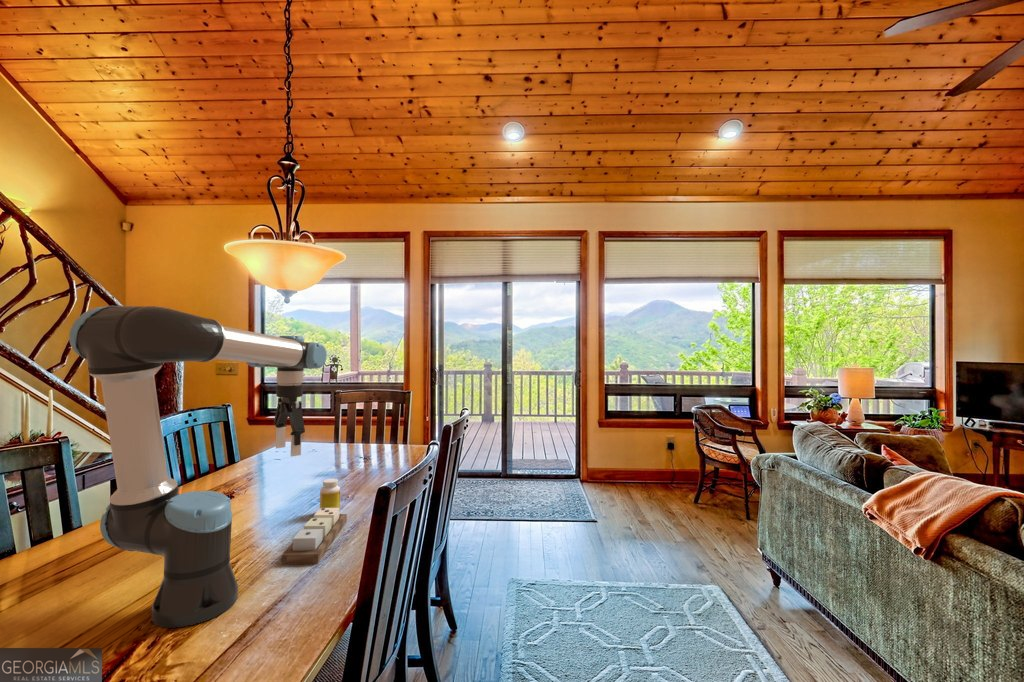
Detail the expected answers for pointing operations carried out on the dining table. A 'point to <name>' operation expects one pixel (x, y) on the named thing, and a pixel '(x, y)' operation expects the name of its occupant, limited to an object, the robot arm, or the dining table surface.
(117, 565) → the dining table surface
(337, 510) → the tile three
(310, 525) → the tile two
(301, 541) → the tile one
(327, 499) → the pill bottle
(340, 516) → the tile tray
